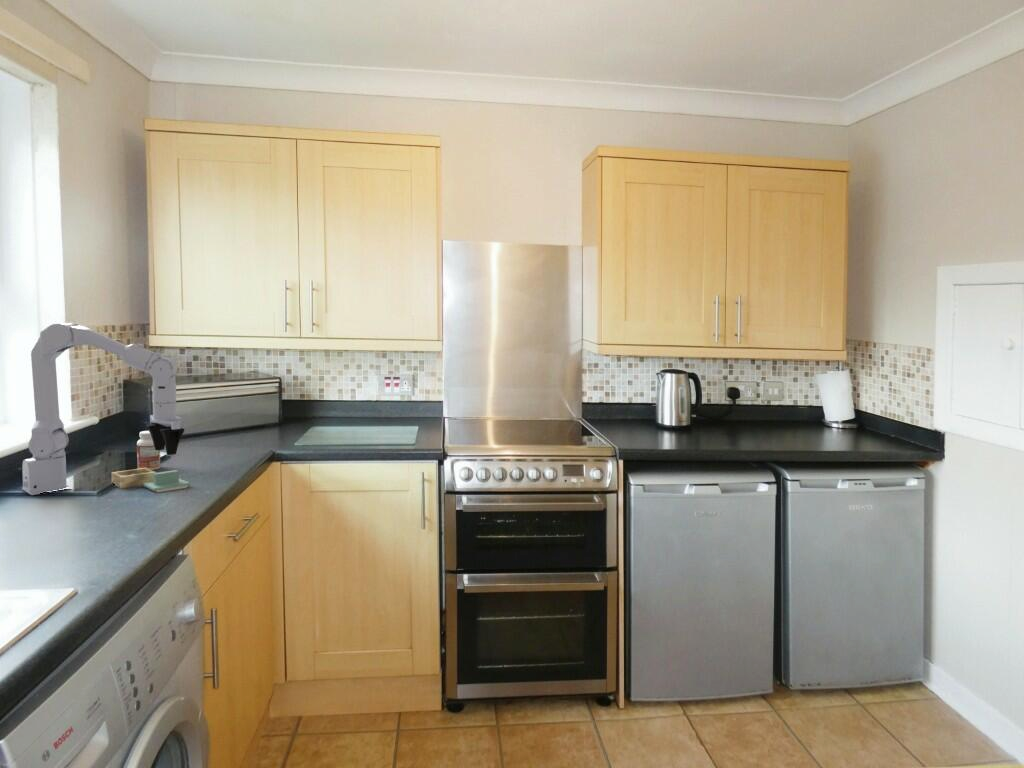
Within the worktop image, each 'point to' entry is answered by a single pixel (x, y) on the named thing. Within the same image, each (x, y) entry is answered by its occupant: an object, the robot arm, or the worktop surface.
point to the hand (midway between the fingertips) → (165, 452)
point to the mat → (171, 489)
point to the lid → (165, 481)
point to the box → (132, 477)
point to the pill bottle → (147, 452)
